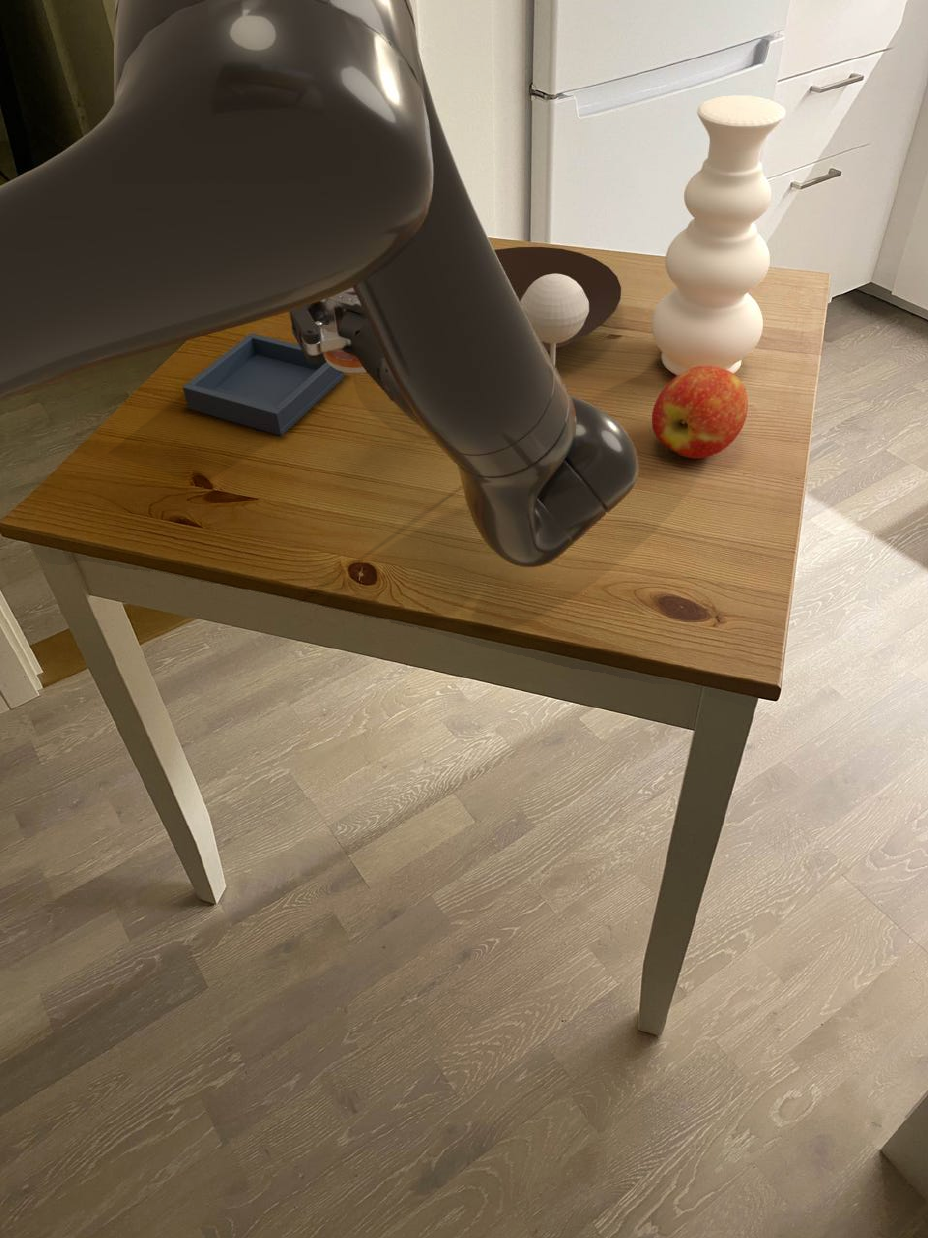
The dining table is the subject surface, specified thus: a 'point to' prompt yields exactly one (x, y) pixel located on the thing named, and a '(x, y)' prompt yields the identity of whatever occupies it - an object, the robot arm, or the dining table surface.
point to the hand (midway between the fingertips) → (339, 273)
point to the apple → (700, 411)
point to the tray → (261, 384)
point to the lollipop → (555, 308)
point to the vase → (720, 243)
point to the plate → (585, 270)
